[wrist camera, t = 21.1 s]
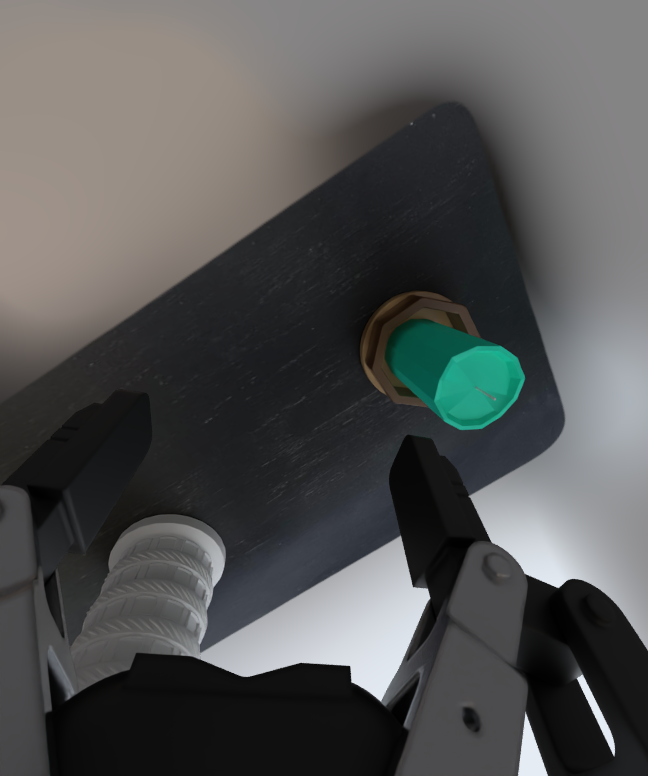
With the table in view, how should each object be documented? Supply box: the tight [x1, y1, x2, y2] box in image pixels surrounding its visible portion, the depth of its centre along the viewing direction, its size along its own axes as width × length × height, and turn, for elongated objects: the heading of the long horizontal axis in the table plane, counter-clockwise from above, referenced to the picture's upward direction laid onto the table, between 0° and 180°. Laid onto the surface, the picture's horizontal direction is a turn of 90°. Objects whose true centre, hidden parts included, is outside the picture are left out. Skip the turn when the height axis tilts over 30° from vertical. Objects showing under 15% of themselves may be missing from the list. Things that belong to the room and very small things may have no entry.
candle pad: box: [360, 291, 481, 407], centre depth 30 cm, size 10×10×4 cm
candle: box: [385, 319, 525, 430], centre depth 26 cm, size 6×6×12 cm
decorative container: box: [70, 514, 225, 691], centre depth 28 cm, size 12×12×18 cm
